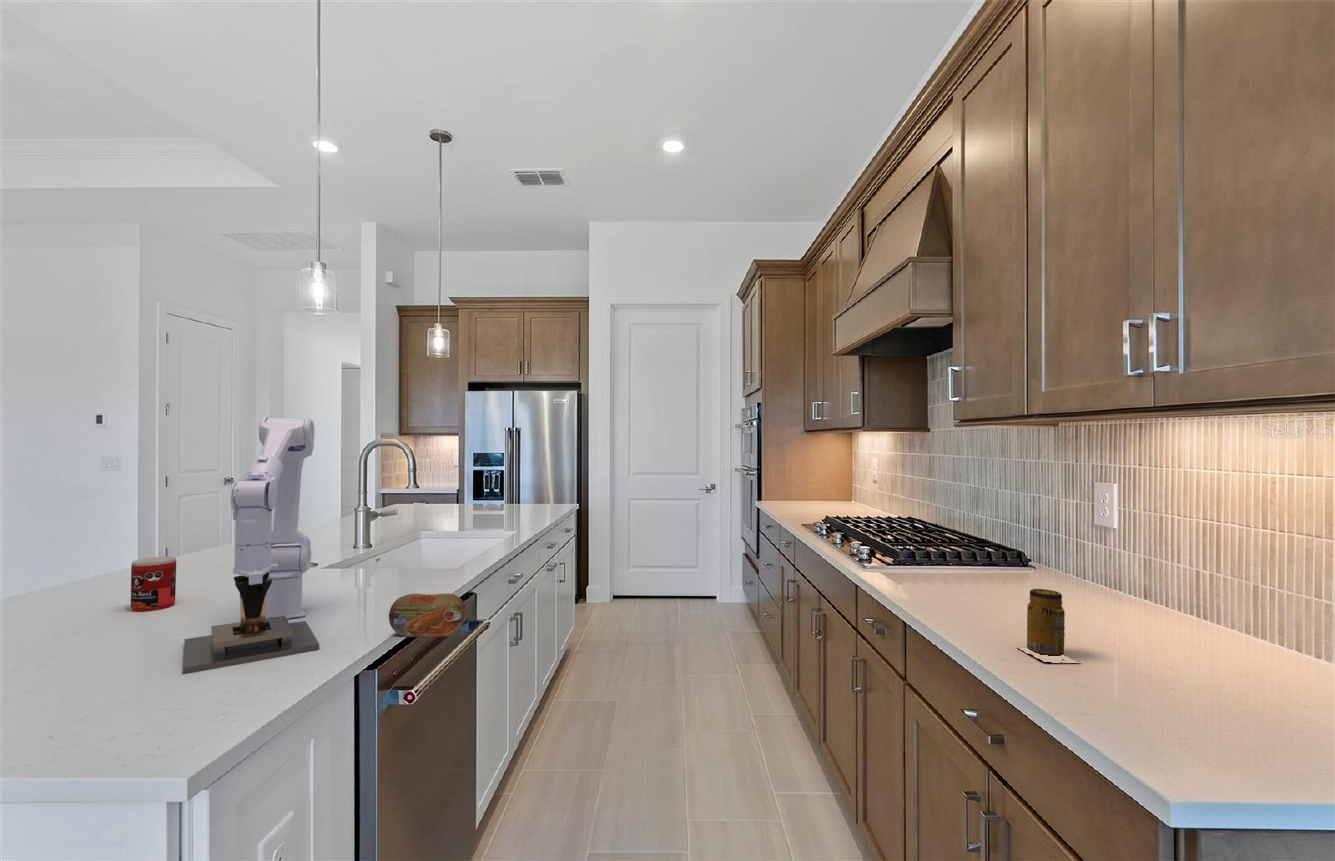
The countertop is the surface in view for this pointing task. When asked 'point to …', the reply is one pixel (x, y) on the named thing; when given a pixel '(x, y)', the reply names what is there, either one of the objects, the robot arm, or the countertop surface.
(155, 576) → the canned food
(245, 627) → the tan rectangular block
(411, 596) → the tin
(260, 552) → the robot arm
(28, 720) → the countertop surface
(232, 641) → the grey slotted base plate
